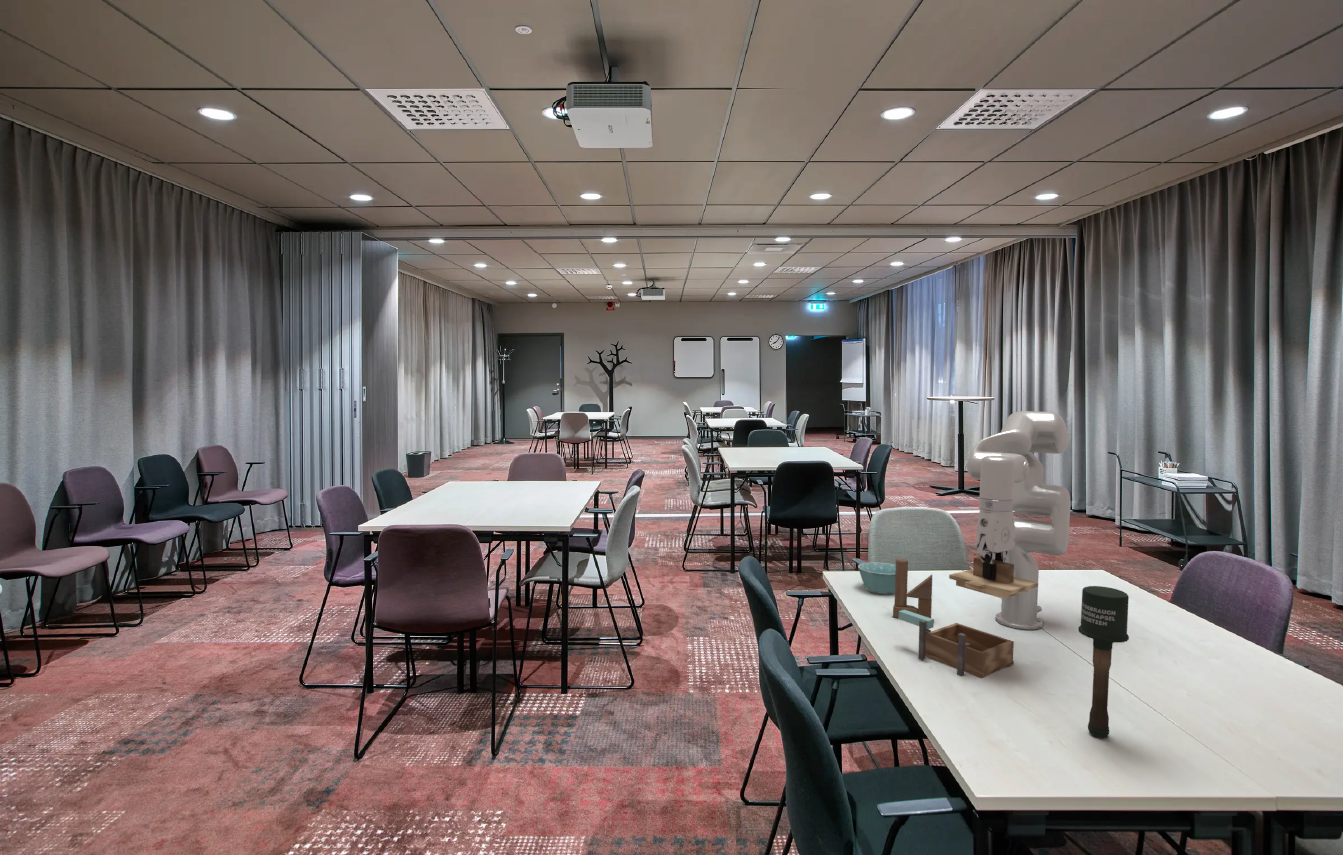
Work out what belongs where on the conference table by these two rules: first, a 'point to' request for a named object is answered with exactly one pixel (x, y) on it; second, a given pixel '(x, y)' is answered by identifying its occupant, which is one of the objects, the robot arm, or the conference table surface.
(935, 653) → the wooden box
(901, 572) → the brown wooden block structure
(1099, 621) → the stick grenade
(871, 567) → the bowl
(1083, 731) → the conference table surface
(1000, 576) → the lid
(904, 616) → the teal rectangular bar
